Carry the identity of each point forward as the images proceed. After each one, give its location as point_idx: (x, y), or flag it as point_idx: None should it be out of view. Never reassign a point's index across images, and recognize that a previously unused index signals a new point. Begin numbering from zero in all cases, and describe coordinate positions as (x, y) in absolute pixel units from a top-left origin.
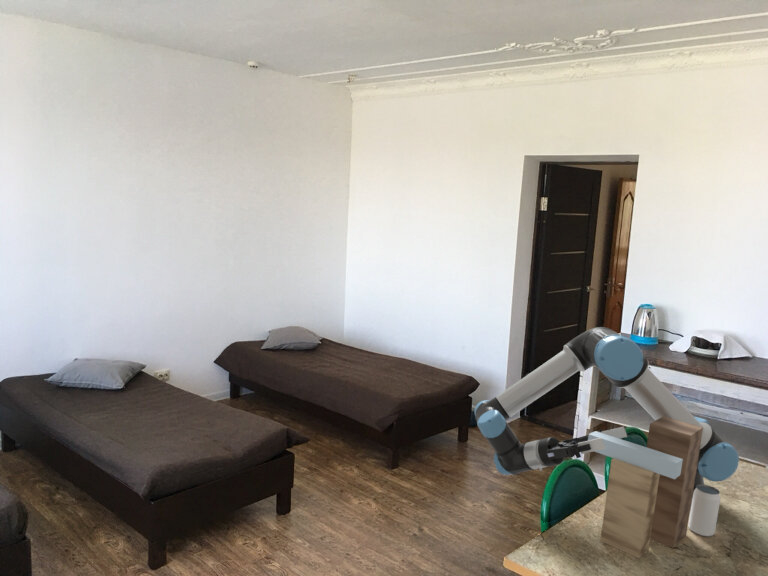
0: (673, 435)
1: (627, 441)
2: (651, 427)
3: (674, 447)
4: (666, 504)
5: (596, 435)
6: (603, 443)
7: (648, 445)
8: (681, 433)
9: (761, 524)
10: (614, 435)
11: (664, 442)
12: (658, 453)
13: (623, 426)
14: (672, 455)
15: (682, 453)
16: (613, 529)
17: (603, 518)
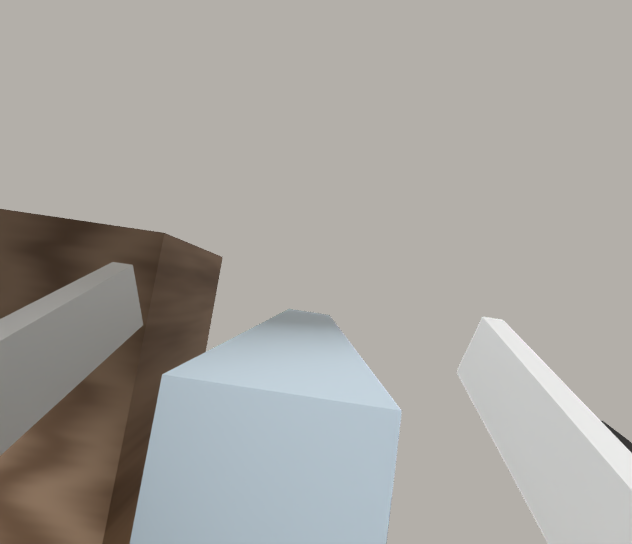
0: (203, 265)
1: (267, 322)
2: (165, 249)
3: (199, 301)
4: None
5: (340, 372)
6: (473, 348)
7: (149, 330)
8: (213, 255)
9: None
10: (72, 356)
11: (186, 295)
12: (302, 315)
13: (116, 262)
14: (193, 328)
15: (207, 310)
16: None
17: None
